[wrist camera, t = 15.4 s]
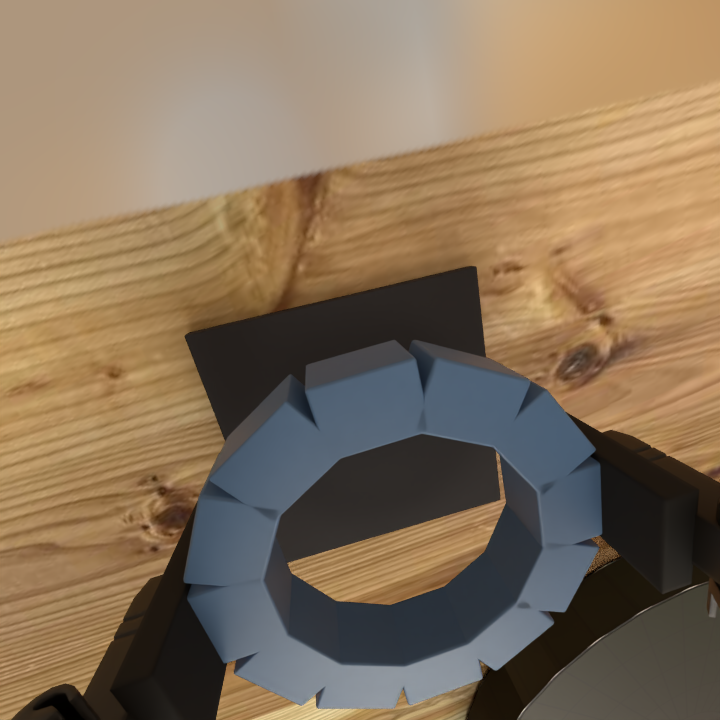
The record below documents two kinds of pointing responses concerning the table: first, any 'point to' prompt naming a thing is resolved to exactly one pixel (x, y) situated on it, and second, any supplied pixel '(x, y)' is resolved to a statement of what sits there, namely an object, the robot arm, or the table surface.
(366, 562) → the table surface
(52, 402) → the table surface
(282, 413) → the ring
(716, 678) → the disc
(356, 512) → the mat
